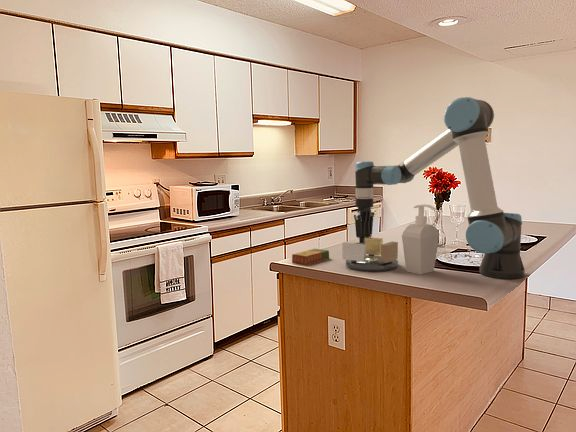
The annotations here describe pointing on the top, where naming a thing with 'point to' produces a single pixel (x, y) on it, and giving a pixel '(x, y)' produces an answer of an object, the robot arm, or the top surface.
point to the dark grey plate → (372, 264)
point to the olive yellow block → (373, 246)
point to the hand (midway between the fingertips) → (364, 252)
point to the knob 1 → (354, 251)
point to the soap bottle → (420, 244)
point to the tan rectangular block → (389, 252)
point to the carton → (310, 256)
